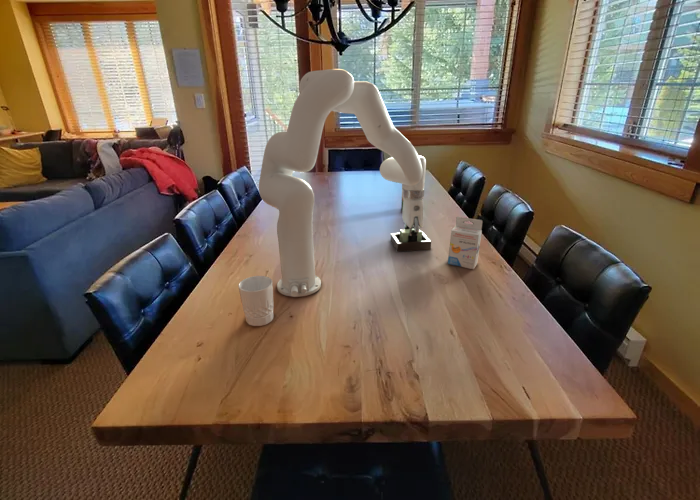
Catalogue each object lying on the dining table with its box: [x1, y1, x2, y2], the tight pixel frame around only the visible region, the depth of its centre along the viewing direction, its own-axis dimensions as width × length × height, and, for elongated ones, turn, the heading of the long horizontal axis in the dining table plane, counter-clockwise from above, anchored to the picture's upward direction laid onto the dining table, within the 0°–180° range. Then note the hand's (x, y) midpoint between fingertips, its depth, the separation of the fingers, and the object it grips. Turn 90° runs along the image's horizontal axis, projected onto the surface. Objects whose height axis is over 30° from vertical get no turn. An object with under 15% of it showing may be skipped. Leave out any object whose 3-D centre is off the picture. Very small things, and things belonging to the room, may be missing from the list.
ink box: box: [447, 216, 484, 270], centre depth 117 cm, size 8×5×15 cm, turn 60°
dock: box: [390, 231, 432, 253], centre depth 134 cm, size 10×12×3 cm
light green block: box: [399, 228, 423, 242], centre depth 133 cm, size 4×7×5 cm, turn 98°
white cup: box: [238, 275, 275, 327], centre depth 91 cm, size 8×8×10 cm
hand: (410, 242), depth 134 cm, fingers open, 4 cm apart
